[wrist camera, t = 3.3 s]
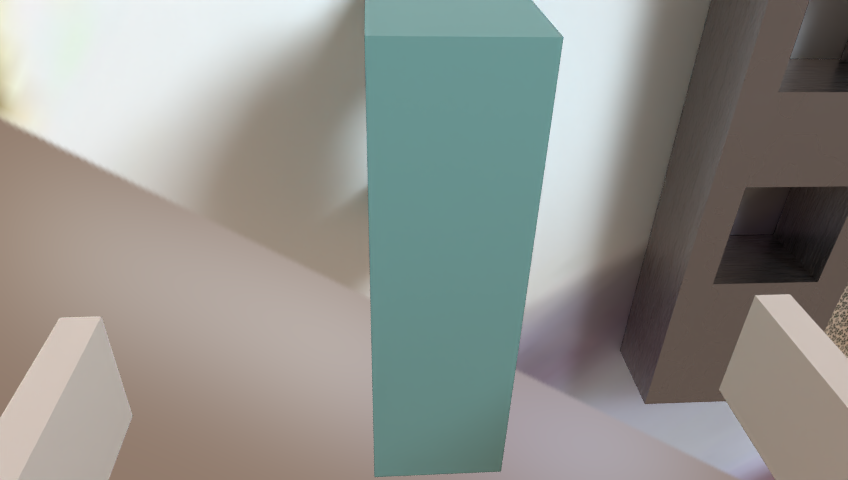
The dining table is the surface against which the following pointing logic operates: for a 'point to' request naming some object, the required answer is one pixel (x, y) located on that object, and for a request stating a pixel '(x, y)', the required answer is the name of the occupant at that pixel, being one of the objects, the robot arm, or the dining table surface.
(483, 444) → the clip
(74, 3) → the dining table surface
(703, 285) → the rail
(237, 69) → the dining table surface
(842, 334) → the pastry
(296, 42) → the dining table surface
